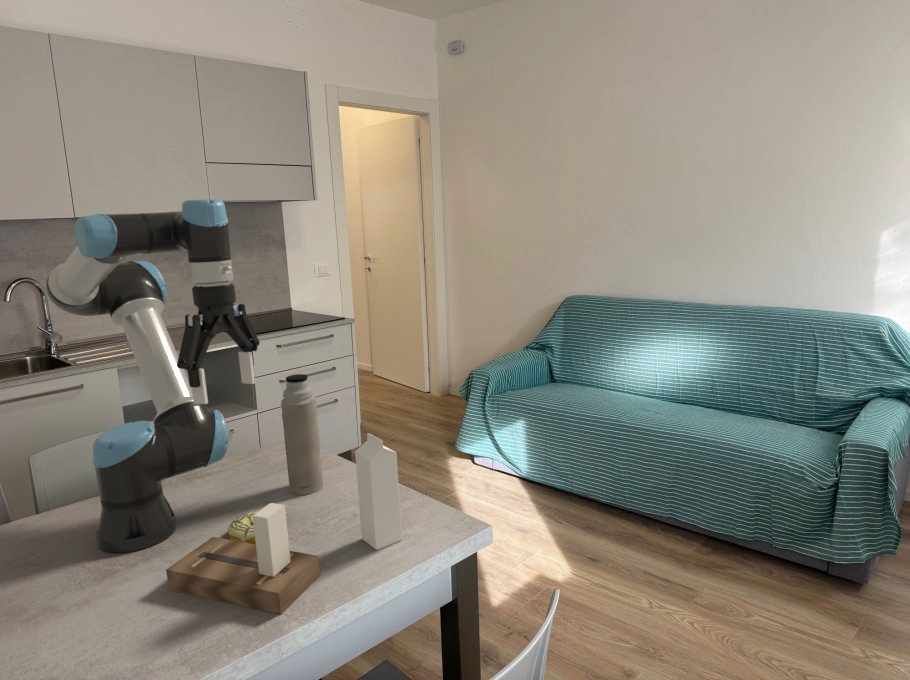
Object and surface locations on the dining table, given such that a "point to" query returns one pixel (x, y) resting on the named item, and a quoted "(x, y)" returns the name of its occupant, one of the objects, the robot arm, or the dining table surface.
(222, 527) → the dining table surface
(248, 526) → the decorated donut
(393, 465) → the milk
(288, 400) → the thermos bottle
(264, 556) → the fader tab
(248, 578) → the brown flat block
